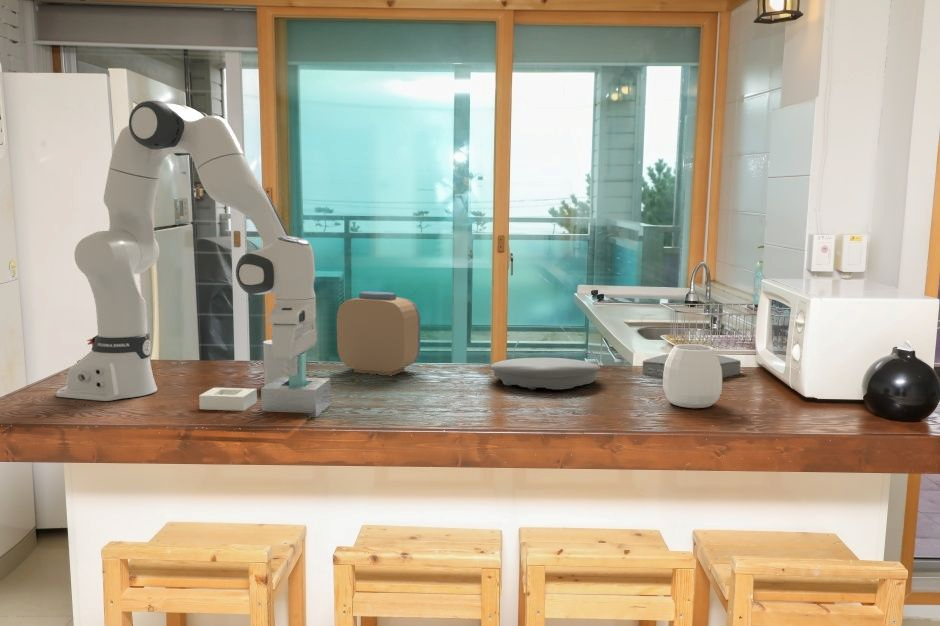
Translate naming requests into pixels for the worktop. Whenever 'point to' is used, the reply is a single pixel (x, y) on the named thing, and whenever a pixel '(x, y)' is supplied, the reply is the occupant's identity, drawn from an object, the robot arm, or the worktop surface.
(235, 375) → the worktop surface
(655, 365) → the electronic device
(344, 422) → the worktop surface
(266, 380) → the cup
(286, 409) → the port
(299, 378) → the plug
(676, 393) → the cup
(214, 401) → the white square-hole block
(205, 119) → the robot arm
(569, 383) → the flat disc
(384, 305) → the alarm clock
